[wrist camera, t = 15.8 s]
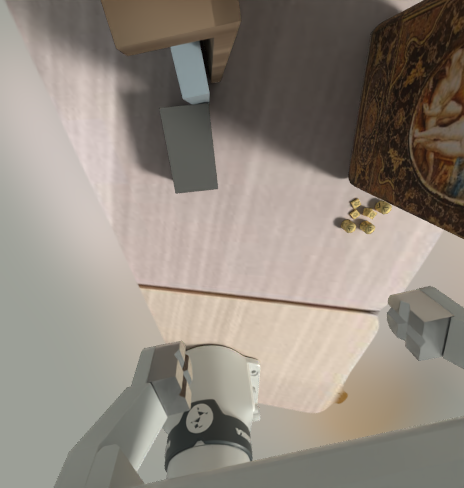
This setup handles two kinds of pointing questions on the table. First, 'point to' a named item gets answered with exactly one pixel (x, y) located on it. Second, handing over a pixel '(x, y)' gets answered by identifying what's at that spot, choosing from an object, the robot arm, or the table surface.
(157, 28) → the open wooden box
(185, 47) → the door panel
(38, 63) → the table surface
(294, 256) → the table surface
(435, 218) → the book
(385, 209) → the dice set
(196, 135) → the block
